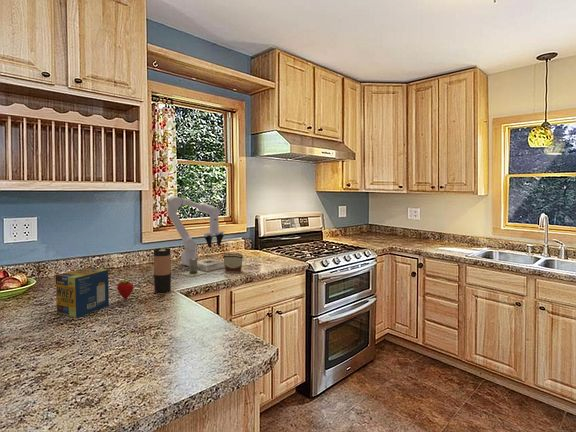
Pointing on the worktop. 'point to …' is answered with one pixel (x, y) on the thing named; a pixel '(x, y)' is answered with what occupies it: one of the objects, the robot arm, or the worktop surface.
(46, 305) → the worktop surface
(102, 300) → the protein box
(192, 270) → the grey cylinder
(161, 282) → the travel mug
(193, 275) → the mat
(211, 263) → the housing
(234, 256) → the food container
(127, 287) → the strawberry
